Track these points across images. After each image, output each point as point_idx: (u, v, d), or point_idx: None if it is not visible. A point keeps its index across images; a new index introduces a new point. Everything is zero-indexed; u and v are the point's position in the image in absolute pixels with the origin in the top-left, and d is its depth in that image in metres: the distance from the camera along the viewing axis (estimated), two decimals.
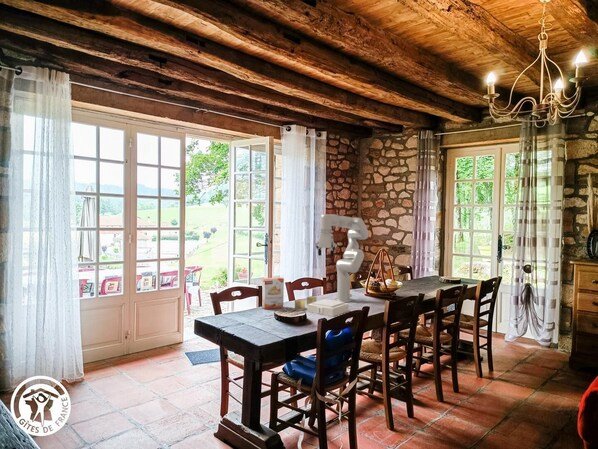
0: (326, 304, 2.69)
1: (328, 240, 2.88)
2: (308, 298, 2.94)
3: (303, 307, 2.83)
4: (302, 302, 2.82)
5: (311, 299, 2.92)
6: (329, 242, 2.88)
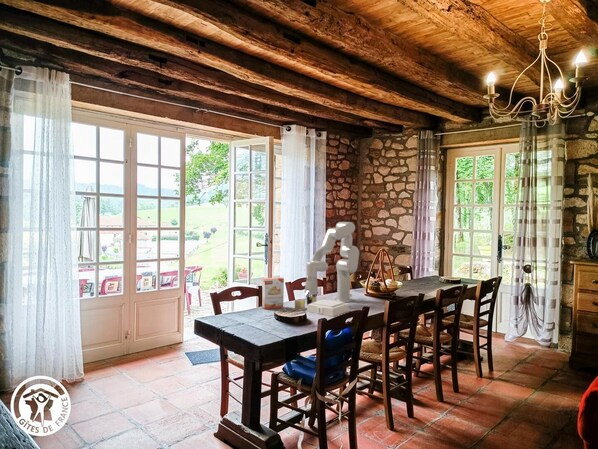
0: (326, 304, 2.69)
1: (316, 286, 2.96)
2: None
3: (303, 307, 2.83)
4: (302, 302, 2.82)
5: (311, 299, 2.92)
6: (317, 288, 2.97)
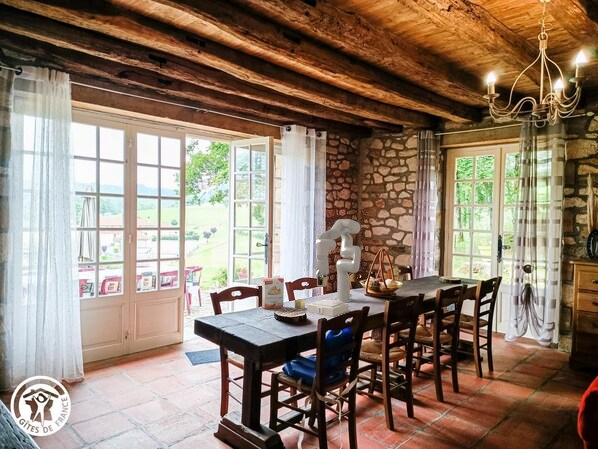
0: (326, 304, 2.69)
1: (327, 266, 2.80)
2: None
3: (303, 307, 2.83)
4: (302, 302, 2.82)
5: (322, 279, 2.76)
6: (328, 268, 2.81)
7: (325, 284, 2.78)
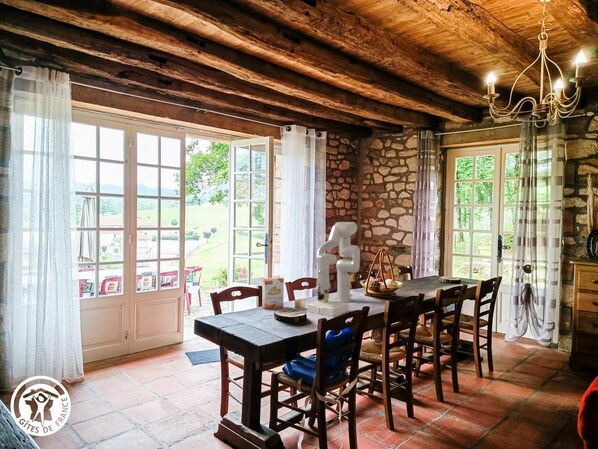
0: (326, 304, 2.69)
1: (328, 281, 2.79)
2: None
3: (303, 307, 2.83)
4: (302, 302, 2.82)
5: (323, 295, 2.75)
6: (329, 283, 2.80)
7: (326, 300, 2.77)
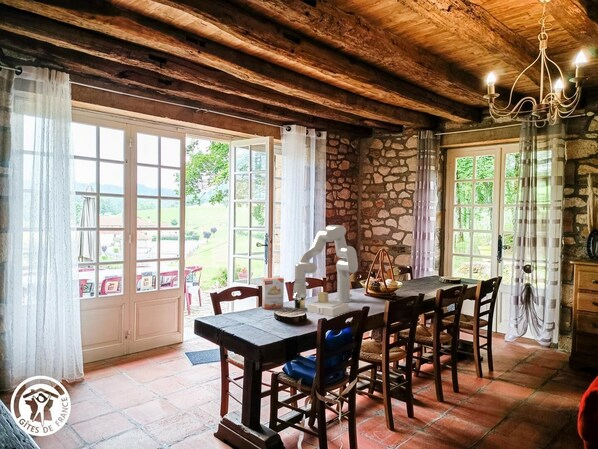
0: (326, 304, 2.69)
1: (305, 289, 2.85)
2: (320, 294, 2.77)
3: (303, 307, 2.83)
4: (302, 302, 2.82)
5: (323, 295, 2.75)
6: (305, 291, 2.85)
7: (326, 300, 2.77)
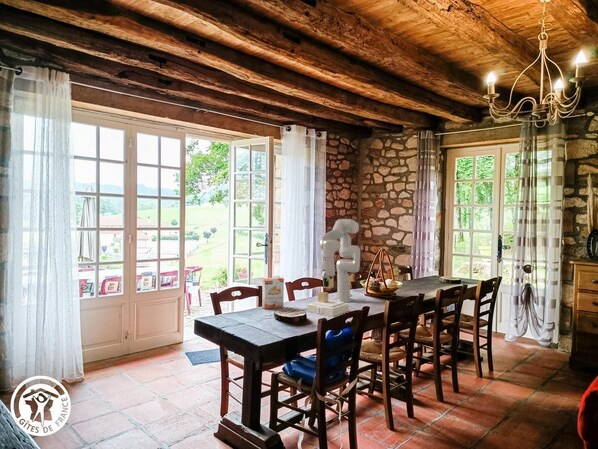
0: (326, 304, 2.69)
1: (334, 267, 2.75)
2: (320, 294, 2.77)
3: (332, 286, 2.74)
4: (331, 280, 2.73)
5: (323, 295, 2.75)
6: (334, 269, 2.76)
7: (326, 300, 2.77)
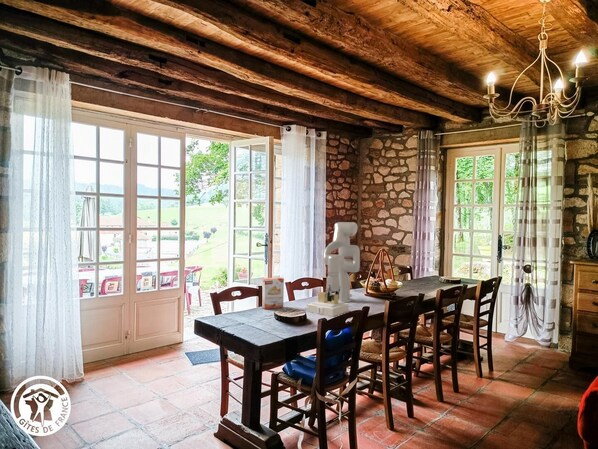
0: (326, 304, 2.69)
1: (338, 282, 2.74)
2: (320, 294, 2.77)
3: (337, 302, 2.72)
4: (336, 296, 2.71)
5: (323, 295, 2.75)
6: (339, 284, 2.75)
7: (326, 300, 2.77)
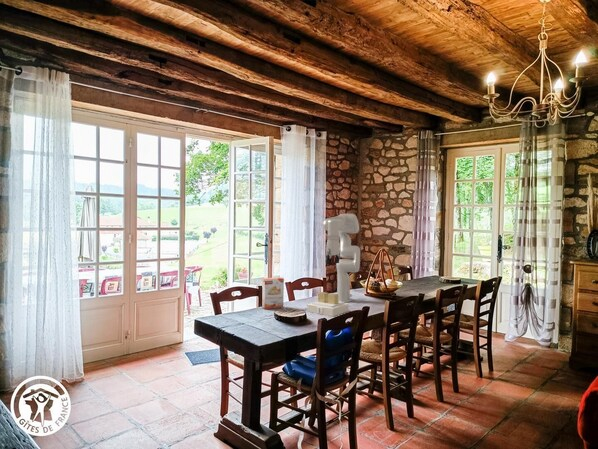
0: (326, 304, 2.69)
1: (338, 247, 2.75)
2: (320, 294, 2.77)
3: (337, 302, 2.72)
4: (336, 296, 2.71)
5: (323, 295, 2.75)
6: (339, 249, 2.76)
7: (326, 300, 2.77)
